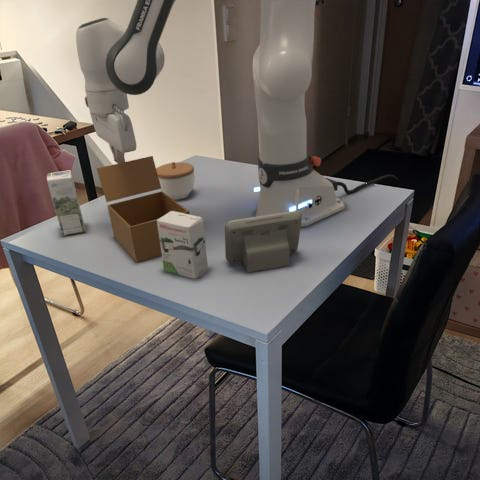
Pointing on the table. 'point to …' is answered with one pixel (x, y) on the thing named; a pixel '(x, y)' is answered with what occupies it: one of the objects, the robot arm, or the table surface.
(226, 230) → the digital clock
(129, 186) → the flap
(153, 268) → the table surface
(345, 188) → the robot arm
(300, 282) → the table surface
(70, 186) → the syrup box
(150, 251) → the carton
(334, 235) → the table surface
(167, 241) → the ink box
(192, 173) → the trinket box
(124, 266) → the table surface
